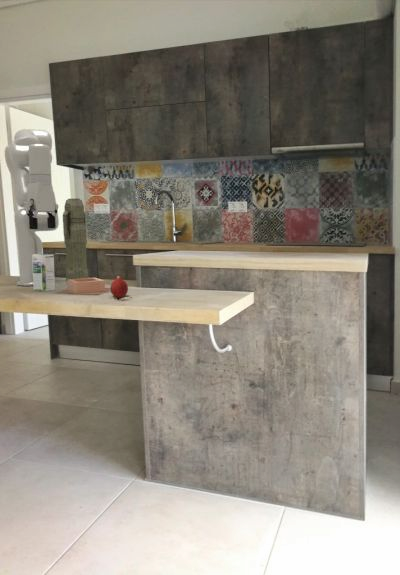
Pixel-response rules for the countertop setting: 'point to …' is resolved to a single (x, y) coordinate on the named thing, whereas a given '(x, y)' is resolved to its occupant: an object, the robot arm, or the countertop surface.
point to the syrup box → (43, 272)
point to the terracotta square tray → (85, 285)
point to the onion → (119, 288)
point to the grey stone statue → (75, 239)
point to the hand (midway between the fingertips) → (42, 228)
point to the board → (82, 293)
